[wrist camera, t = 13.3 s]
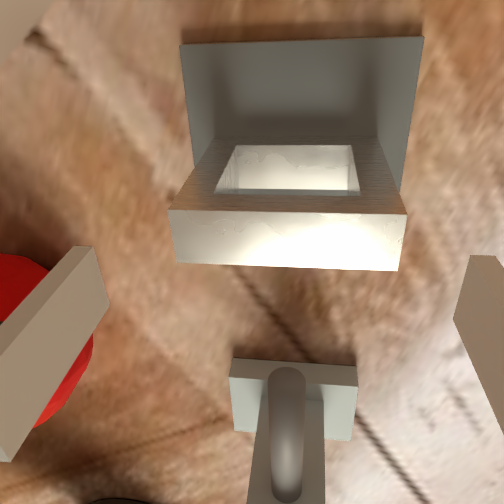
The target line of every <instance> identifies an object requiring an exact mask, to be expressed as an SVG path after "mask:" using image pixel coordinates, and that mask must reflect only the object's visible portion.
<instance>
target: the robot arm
mask: <svg viewBox="0 0 504 504" xmlns="http://www.w3.org/2000/svg"><path fill="white" fill-rule="evenodd" d="M109 306H110V303H109V299H108V296H107V292H106V289H105V285H104V282H103V278H102V275H101V271H100V268H99V264H98V261H97V257H96V254H95V250H94V247H93V246H73V247H72V248H71V249H70V250H69V252H68V253H67V254H66V255H65V256H64V257H63V258H62V259H61V260H60V261H59V262H58V263H57V265H56V266H55V267H54V268H53V269H52V270H51V271H50V272H49V273H48V274H47V275H46V276H45V278H44V279H43V280H42V281H41V282H40V283H39V284H38V285H37V286H36V287H35V288H34V289H33V291H32V292H31V293H30V294H29V295H28V296H27V297H26V298H25V299H24V300H23V301H22V302H21V304H20V305H19V306H18V307H17V308H16V309H15V310H14V311H13V312H12V313H11V314H10V315H9V317H8V318H7V319H6V320H5V321H0V461H2V462H11V461H12V459H13V458H14V456H15V455H16V453H17V451H18V450H19V448H20V447H21V445H22V443H23V442H24V440H25V439H26V437H27V436H28V434H29V432H30V431H31V429H32V428H33V426H34V425H35V423H36V421H37V420H38V418H39V417H40V415H41V413H42V412H43V410H44V409H45V407H46V406H47V404H48V402H49V401H50V399H51V398H52V396H53V394H54V393H55V391H56V390H57V388H58V387H59V385H60V383H61V382H62V380H63V379H64V377H65V376H66V374H67V372H68V371H69V369H70V368H71V366H72V364H73V363H74V361H75V360H76V358H77V357H78V355H79V353H80V352H81V350H82V349H83V347H84V345H85V344H86V342H87V341H88V339H89V338H90V336H91V334H92V333H93V331H94V330H95V328H96V327H97V325H98V323H99V322H100V320H101V319H102V317H103V315H104V314H105V312H106V311H107V309H108V308H109ZM453 321H454V323H455V325H456V328H457V330H458V332H459V334H460V337H461V339H462V341H463V343H464V346H465V348H466V350H467V353H468V355H469V357H470V359H471V362H472V364H473V366H474V368H475V371H476V373H477V375H478V377H479V380H480V382H481V384H482V387H483V389H484V391H485V393H486V396H487V398H488V400H489V402H490V405H491V407H492V409H493V412H494V414H495V416H496V418H497V421H498V423H499V425H500V427H501V430H502V432H503V434H504V268H503V266H502V265H501V263H500V262H499V261H498V259H497V258H496V256H483V255H470V259H469V262H468V266H467V269H466V273H465V277H464V280H463V284H462V288H461V291H460V295H459V298H458V302H457V306H456V309H455V313H454V317H453ZM91 504H145V503H141V502H136V501H131V500H123V499H106V500H99V501H96V502H93V503H91Z"/></svg>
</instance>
